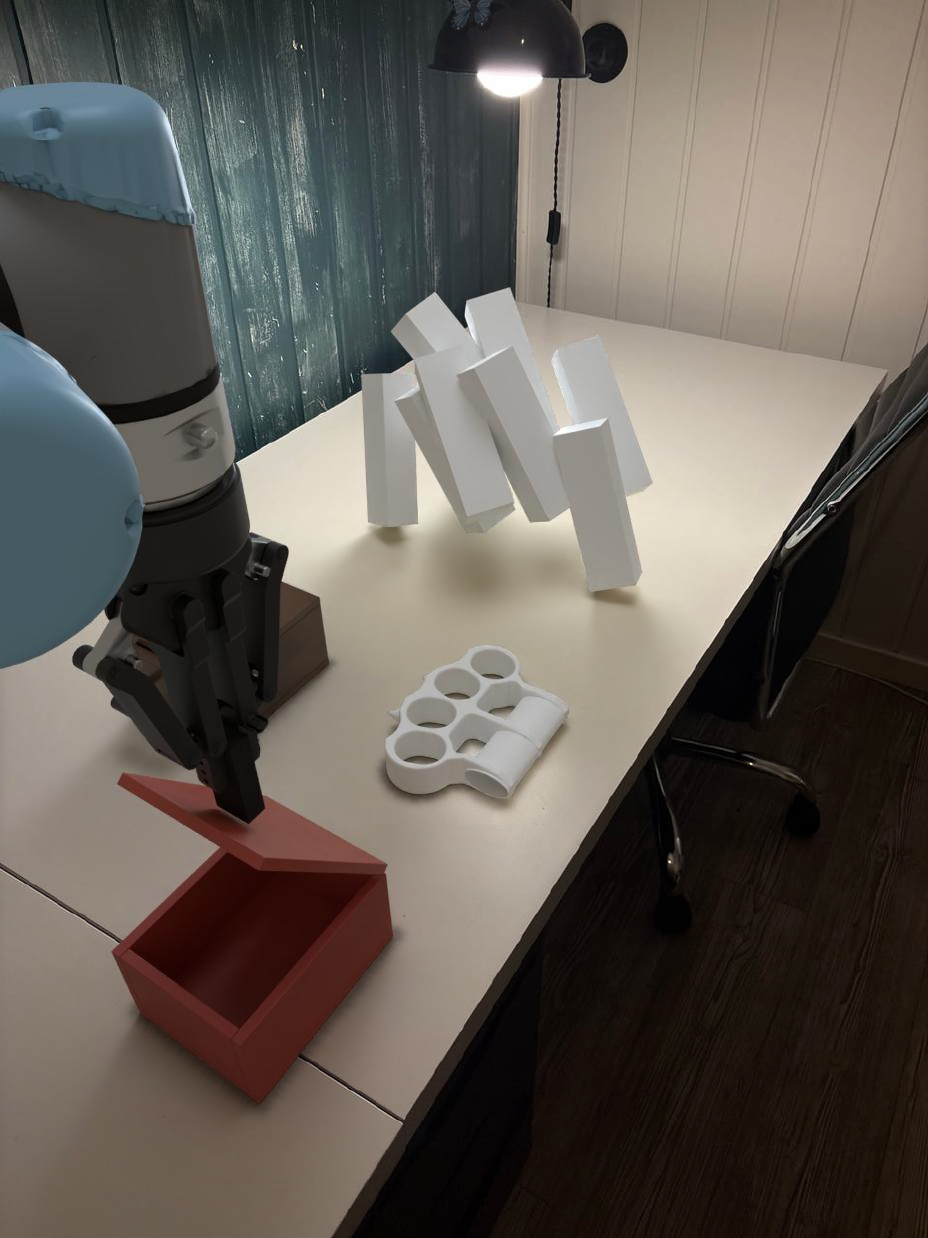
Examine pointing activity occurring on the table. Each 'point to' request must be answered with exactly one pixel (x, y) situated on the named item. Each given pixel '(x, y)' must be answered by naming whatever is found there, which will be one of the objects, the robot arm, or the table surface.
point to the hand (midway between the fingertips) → (241, 807)
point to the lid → (255, 830)
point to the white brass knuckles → (472, 726)
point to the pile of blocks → (505, 433)
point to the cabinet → (293, 644)
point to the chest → (253, 961)
